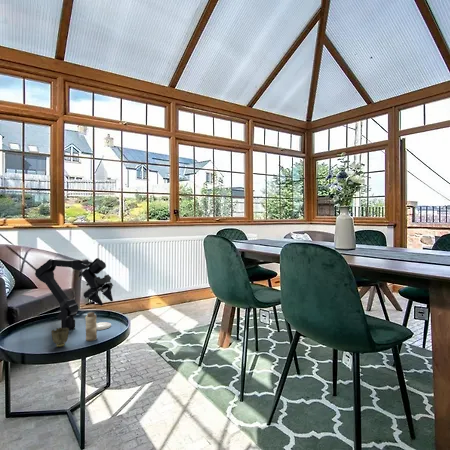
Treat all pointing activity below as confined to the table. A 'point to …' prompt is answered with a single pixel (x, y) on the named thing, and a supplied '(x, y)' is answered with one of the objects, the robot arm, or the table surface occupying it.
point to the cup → (60, 336)
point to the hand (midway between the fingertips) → (107, 303)
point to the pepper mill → (91, 327)
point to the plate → (103, 325)
